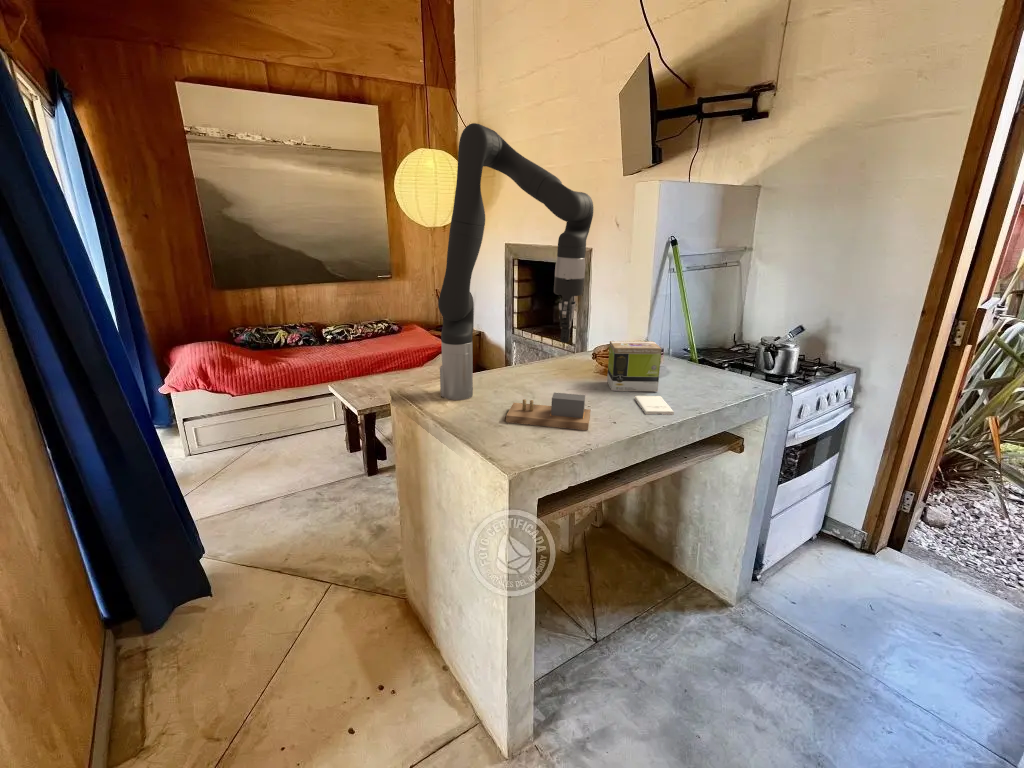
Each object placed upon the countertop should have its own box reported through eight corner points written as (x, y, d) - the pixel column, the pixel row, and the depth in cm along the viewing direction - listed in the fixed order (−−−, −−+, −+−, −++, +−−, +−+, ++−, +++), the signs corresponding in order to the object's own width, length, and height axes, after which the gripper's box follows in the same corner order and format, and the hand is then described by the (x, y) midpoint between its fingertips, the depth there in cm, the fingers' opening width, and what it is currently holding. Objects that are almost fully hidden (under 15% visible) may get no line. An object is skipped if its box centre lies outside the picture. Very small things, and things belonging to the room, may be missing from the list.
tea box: (650, 382, 168) (655, 340, 163) (657, 392, 158) (663, 348, 154) (606, 381, 168) (609, 339, 163) (610, 391, 159) (614, 347, 154)
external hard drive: (660, 400, 153) (673, 416, 141) (634, 400, 153) (645, 416, 141) (661, 396, 152) (674, 411, 140) (634, 395, 152) (645, 410, 140)
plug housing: (551, 415, 133) (551, 398, 131) (553, 409, 137) (553, 392, 136) (583, 418, 131) (584, 400, 130) (584, 412, 136) (585, 395, 134)
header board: (506, 422, 133) (506, 405, 132) (513, 409, 143) (513, 392, 141) (588, 430, 129) (589, 412, 128) (590, 416, 139) (591, 399, 137)
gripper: (558, 272, 132) (554, 335, 138) (551, 277, 120) (546, 346, 125) (586, 273, 131) (581, 337, 136) (582, 279, 118) (576, 349, 124)
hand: (564, 341), depth 131 cm, fingers closed
